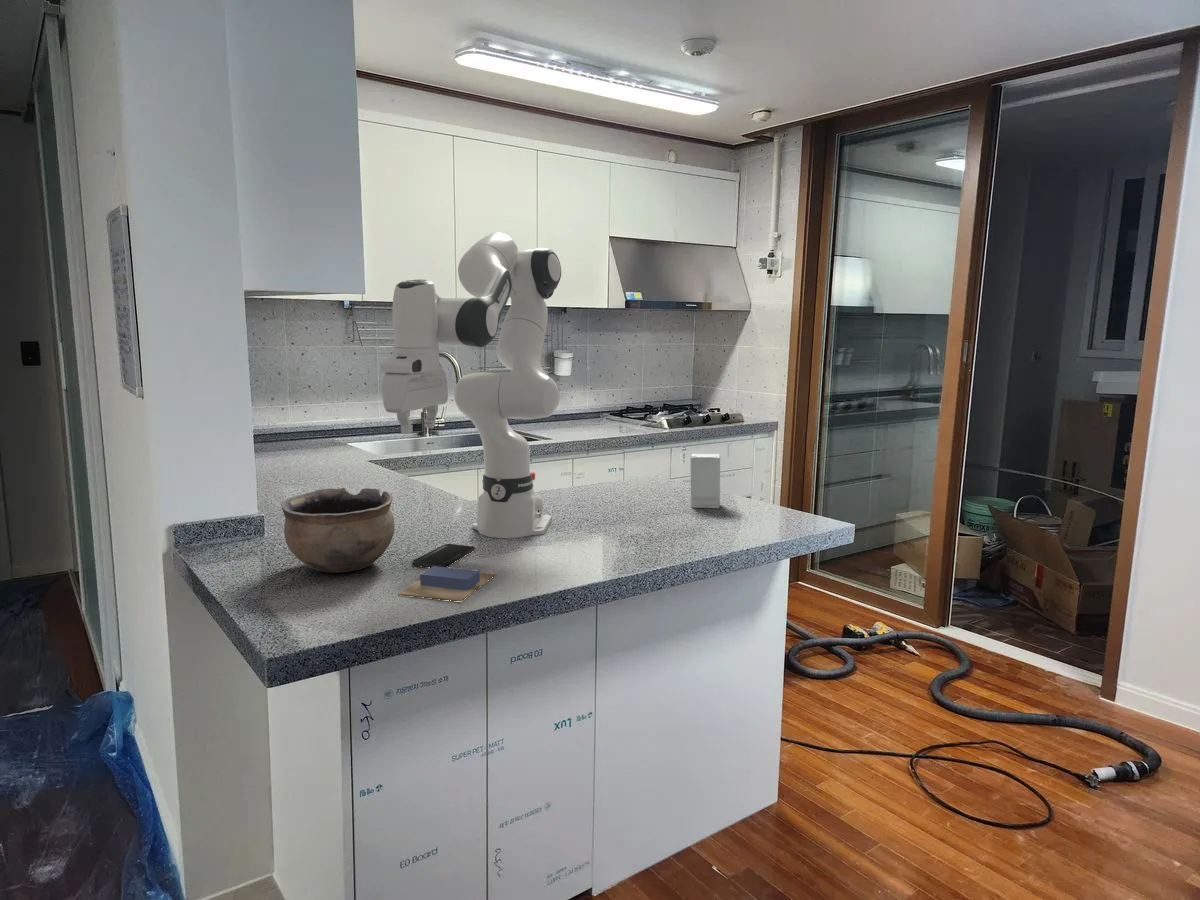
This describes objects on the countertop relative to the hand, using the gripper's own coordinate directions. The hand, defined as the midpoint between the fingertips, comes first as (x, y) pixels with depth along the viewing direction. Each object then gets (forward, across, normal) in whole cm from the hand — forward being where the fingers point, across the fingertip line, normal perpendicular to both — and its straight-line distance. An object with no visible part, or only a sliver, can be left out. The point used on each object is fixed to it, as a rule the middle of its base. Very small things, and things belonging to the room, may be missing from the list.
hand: (418, 430), depth 156 cm
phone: (+30, -8, +1) cm, 31 cm away
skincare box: (+29, -73, +49) cm, 93 cm away
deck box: (+28, +8, +15) cm, 33 cm away
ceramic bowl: (+29, +5, -16) cm, 34 cm away
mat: (+29, +8, +10) cm, 32 cm away
